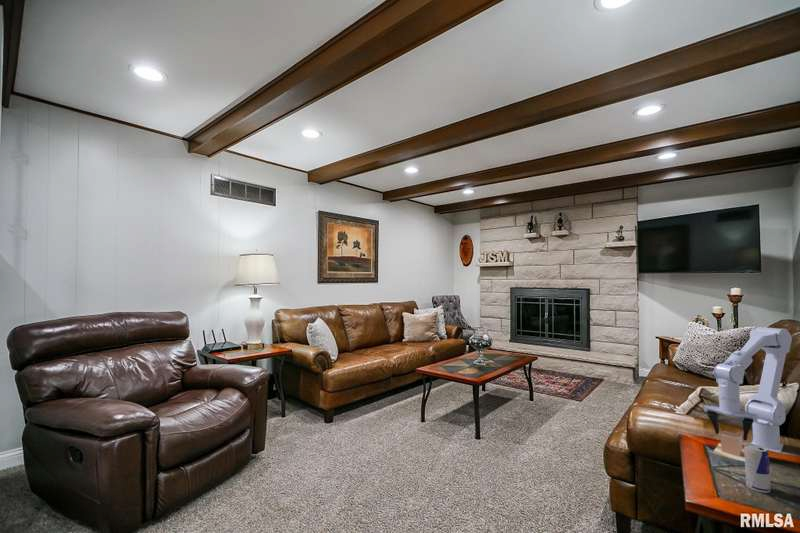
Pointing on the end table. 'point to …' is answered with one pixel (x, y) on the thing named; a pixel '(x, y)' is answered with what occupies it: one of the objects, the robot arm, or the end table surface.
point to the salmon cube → (731, 443)
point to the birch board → (719, 452)
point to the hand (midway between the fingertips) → (731, 436)
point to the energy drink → (757, 468)
